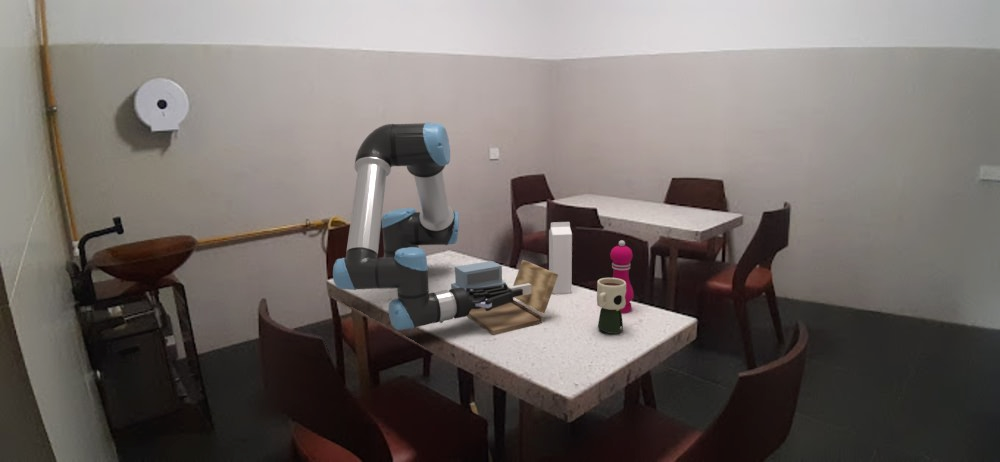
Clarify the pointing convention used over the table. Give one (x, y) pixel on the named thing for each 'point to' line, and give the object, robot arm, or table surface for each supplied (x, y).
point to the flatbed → (505, 318)
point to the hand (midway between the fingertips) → (530, 288)
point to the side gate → (536, 285)
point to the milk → (561, 256)
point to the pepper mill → (623, 270)
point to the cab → (478, 275)
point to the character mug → (611, 303)
